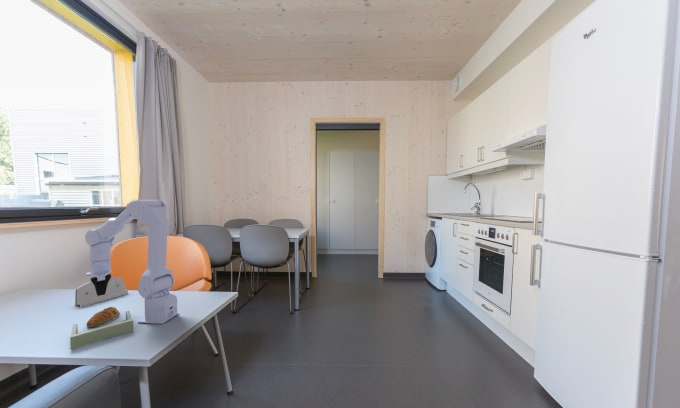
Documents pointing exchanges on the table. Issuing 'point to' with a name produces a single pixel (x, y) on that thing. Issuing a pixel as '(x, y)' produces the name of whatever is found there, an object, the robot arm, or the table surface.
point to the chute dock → (100, 332)
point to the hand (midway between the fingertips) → (101, 294)
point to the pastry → (103, 317)
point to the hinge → (89, 296)
